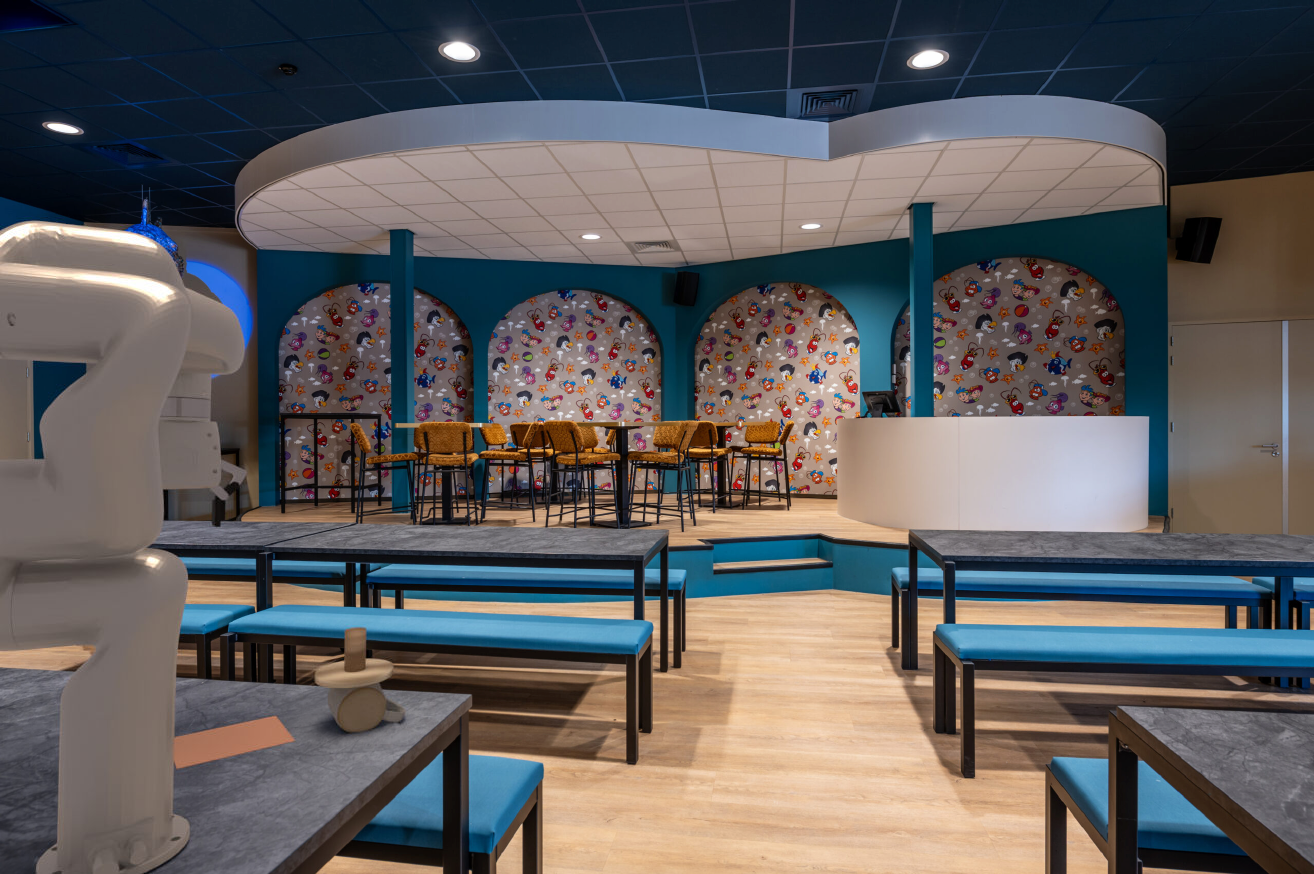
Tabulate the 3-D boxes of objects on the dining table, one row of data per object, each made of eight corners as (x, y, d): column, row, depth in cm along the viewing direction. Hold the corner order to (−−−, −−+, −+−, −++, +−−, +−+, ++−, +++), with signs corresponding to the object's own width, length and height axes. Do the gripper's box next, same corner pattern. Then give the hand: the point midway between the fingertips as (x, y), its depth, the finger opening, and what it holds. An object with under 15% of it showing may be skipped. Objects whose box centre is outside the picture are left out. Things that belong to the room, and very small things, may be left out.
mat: (295, 744, 100) (295, 740, 100) (176, 773, 91) (176, 768, 91) (275, 719, 109) (275, 715, 109) (166, 743, 100) (166, 738, 100)
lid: (401, 679, 106) (402, 632, 106) (321, 693, 100) (322, 643, 100) (383, 660, 115) (384, 617, 115) (309, 672, 109) (310, 626, 109)
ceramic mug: (335, 741, 101) (337, 687, 102) (326, 722, 108) (328, 672, 108) (411, 727, 107) (412, 676, 108) (397, 710, 114) (399, 662, 114)
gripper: (106, 408, 95) (103, 535, 95) (252, 413, 106) (250, 527, 106) (104, 410, 101) (101, 529, 100) (242, 414, 112) (240, 522, 111)
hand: (177, 528), depth 103 cm, fingers open, 9 cm apart
